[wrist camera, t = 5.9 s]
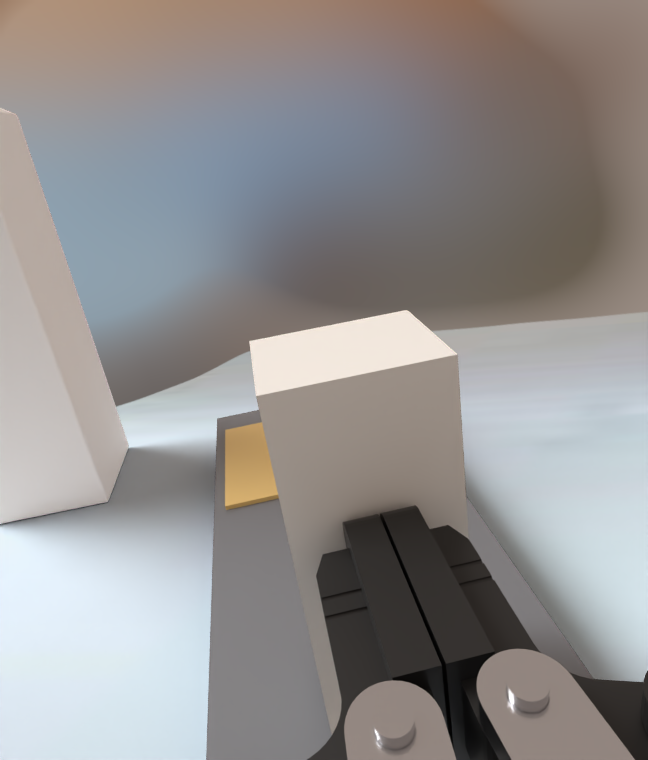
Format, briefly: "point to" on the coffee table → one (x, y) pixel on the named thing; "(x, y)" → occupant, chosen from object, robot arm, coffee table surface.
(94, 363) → the milk
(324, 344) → the block
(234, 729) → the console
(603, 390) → the coffee table surface
